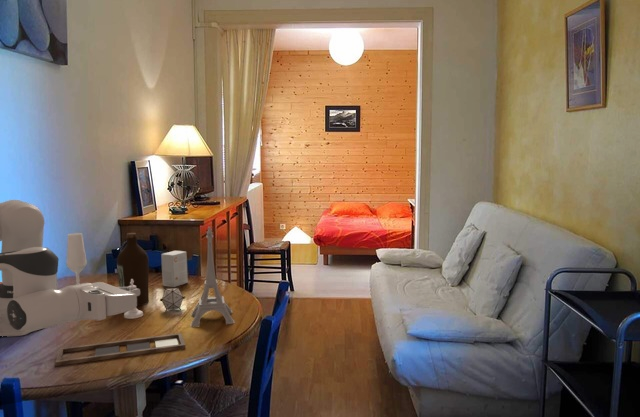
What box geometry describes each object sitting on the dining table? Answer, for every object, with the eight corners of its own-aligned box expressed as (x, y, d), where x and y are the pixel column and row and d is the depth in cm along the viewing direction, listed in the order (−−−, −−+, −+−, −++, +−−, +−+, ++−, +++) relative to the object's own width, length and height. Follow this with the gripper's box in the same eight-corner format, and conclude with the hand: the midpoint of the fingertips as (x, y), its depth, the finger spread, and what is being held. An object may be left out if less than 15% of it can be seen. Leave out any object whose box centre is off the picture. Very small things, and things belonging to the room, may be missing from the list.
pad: (156, 350, 143) (156, 349, 143) (154, 341, 149) (154, 340, 149) (179, 347, 145) (179, 346, 145) (176, 338, 151) (176, 338, 151)
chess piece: (145, 312, 143) (144, 276, 142) (139, 318, 138) (138, 281, 137) (127, 312, 143) (125, 277, 142) (120, 318, 138) (119, 281, 137)
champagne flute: (88, 300, 191) (84, 234, 188) (68, 302, 188) (63, 236, 186) (89, 295, 197) (85, 232, 194) (69, 297, 195) (65, 233, 192)
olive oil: (147, 297, 194) (144, 230, 192) (152, 304, 185) (149, 234, 182) (117, 301, 189) (113, 232, 187) (121, 308, 180) (117, 236, 177)
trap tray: (55, 366, 133) (55, 362, 133) (59, 351, 142) (59, 348, 142) (185, 348, 144) (185, 344, 144) (181, 336, 153) (181, 333, 153)
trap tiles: (94, 358, 137) (94, 357, 137) (95, 349, 144) (95, 348, 144) (150, 351, 142) (150, 350, 142) (149, 342, 149) (149, 341, 149)
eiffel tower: (191, 314, 174) (187, 224, 171) (231, 311, 177) (229, 223, 174) (190, 327, 161) (187, 231, 158) (234, 324, 164) (231, 229, 161)
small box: (176, 281, 217) (175, 250, 216) (188, 282, 214) (187, 251, 213) (162, 285, 210) (160, 253, 209) (174, 287, 207) (172, 255, 206)
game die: (176, 321, 177) (176, 304, 171) (154, 312, 179) (153, 294, 172) (190, 303, 184) (190, 285, 177) (169, 293, 185) (168, 275, 179)
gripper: (67, 305, 138) (117, 295, 148) (102, 322, 124) (155, 309, 134) (66, 281, 137) (116, 273, 147) (101, 296, 123) (154, 285, 134)
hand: (135, 290), depth 141 cm, fingers closed on chess piece
